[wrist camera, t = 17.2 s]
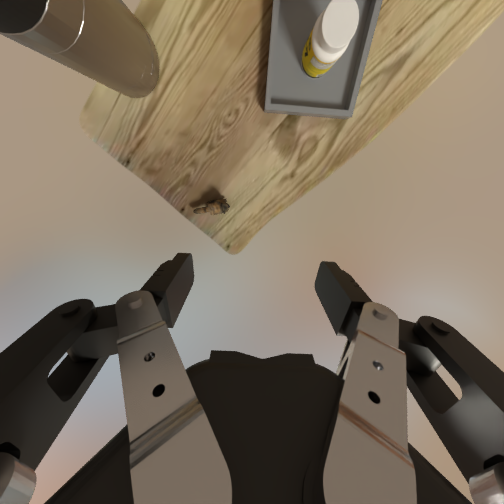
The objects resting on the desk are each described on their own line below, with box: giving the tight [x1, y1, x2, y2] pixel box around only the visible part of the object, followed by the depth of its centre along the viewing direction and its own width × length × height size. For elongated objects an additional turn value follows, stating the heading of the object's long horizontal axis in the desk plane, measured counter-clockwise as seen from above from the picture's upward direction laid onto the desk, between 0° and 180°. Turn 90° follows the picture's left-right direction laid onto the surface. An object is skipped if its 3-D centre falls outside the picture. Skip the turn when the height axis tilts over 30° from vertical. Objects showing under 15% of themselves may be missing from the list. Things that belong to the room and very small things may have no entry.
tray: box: [264, 0, 382, 119], centre depth 26 cm, size 14×14×2 cm
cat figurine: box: [194, 199, 230, 215], centre depth 36 cm, size 3×8×4 cm, turn 102°
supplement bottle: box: [301, 0, 359, 79], centre depth 23 cm, size 5×5×8 cm
